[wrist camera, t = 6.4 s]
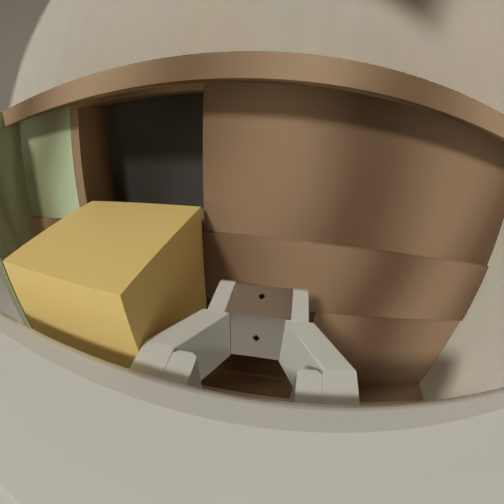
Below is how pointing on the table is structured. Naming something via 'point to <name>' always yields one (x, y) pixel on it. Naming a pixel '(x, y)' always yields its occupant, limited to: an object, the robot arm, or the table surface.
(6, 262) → the block
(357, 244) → the board
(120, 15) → the table surface
